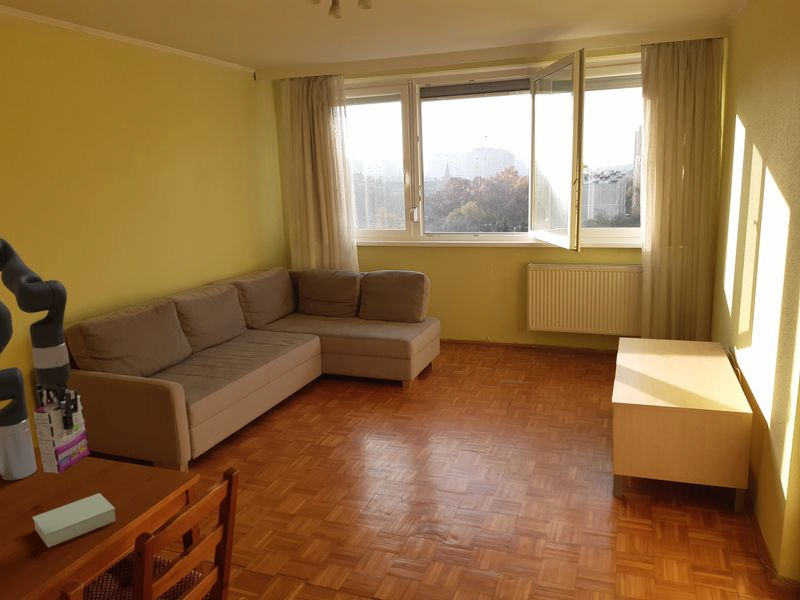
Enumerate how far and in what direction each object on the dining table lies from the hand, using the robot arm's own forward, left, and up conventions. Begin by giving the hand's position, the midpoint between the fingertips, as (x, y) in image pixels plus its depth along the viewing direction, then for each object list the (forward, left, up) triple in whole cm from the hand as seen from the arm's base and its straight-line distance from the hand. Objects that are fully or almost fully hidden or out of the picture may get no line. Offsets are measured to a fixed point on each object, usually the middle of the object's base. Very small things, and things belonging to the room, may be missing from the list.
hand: (61, 426), depth 154 cm
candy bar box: (0, 0, -10) cm, 10 cm away
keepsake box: (0, 0, -28) cm, 28 cm away
